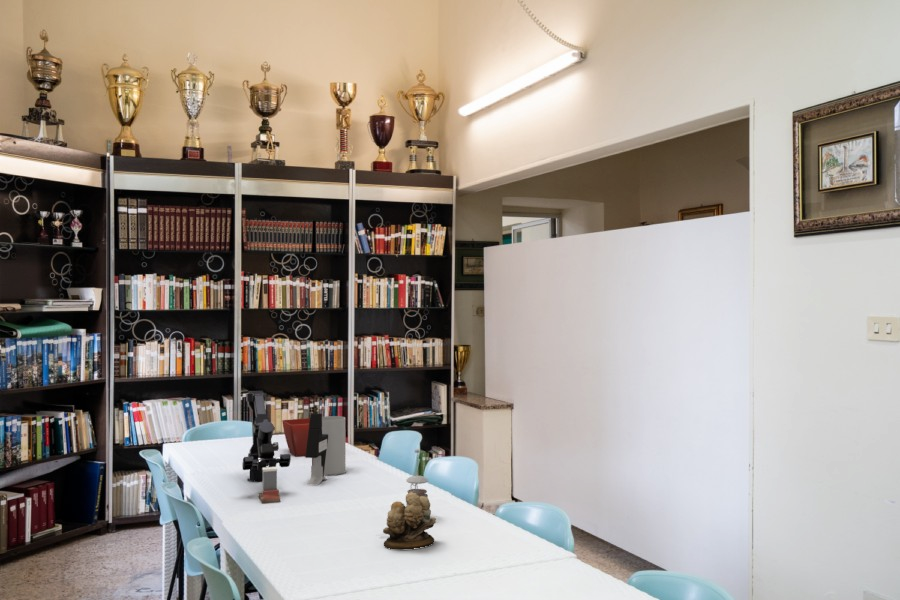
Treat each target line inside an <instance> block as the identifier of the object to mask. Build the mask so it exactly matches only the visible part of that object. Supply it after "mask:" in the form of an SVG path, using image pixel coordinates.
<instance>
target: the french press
mask: <svg viewBox="0 0 900 600" xmlns="http://www.w3.org/2000/svg"><path fill="white" fill-rule="evenodd" d="M414 453H415V454H416V465H418V464H419V463H418V456H419V455H418V454H419V453H421V451H420V449H418V448H415V450H414ZM405 481H406V483H409V484H410V487H412V486H414V488H410V489H408V490H407V494H408V493H410V492H412V493H416V494H417V495H418V496H419V497H421V496H424V497H427V498H428V499H429V497H428V494H427V492H428V490H427V489H424V488H417V486H418V485H421V484H426V483H428V482H429V479H428V478H427V477H425V476H423V475H419V474H416V475H412V476H409V477H407V478H406V479H405ZM405 506H407V503H406V505H405Z"/></svg>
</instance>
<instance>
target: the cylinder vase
mask: <svg viewBox="0 0 900 600" xmlns="http://www.w3.org/2000/svg"><path fill="white" fill-rule="evenodd" d="M322 434H328V443H327V451H326V459H325V465H326V466H325V475H324V476H338V475H342V474H343V475H344V474H345V473H346V417H345V416H339V415H329V416H328V415H327V416H322Z"/></svg>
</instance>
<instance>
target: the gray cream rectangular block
mask: <svg viewBox="0 0 900 600" xmlns="http://www.w3.org/2000/svg"><path fill="white" fill-rule="evenodd" d="M262 470H263V481H262V492H263V491H269V490H278V485H277V484H278V481H277V480H278V474H277V473H278V472H277V471H278V468H277V466H276V467H269V466H266V467H264V468H262Z"/></svg>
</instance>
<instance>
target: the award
mask: <svg viewBox="0 0 900 600" xmlns="http://www.w3.org/2000/svg"><path fill="white" fill-rule="evenodd" d="M309 414H310V416H309V418H310V422H309V428H310V429H309V431H308V439H307V447H306V455H305V456H304V457H305V458H307V459H311V465H310V477H309V479H308V482H307V485H310V484H314V485H313V486H317V485H320V484H321V483H322V482H323V480H325V481H326V480H328V479H327V477H326V475H325V466H326V465H325V459H326V451H327V443H328V434H322V417H323V414H322V413H317V412H316V413H315V412H314V413H312V412H311V413H309Z"/></svg>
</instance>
